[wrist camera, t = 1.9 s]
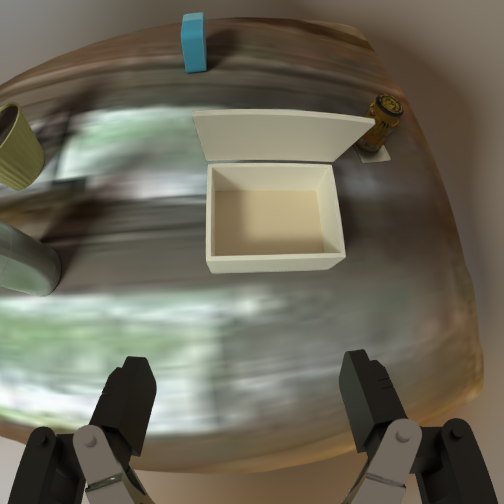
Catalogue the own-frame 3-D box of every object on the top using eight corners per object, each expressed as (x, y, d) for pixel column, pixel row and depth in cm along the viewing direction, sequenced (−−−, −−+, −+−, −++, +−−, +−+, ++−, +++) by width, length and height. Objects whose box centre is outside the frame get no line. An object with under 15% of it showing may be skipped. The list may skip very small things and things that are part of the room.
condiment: (373, 127, 53) (396, 90, 41) (391, 160, 51) (419, 126, 39) (344, 129, 52) (364, 89, 40) (361, 164, 50) (387, 126, 38)
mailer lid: (375, 123, 26) (374, 118, 26) (192, 116, 25) (192, 110, 25) (333, 161, 40) (332, 157, 40) (206, 160, 39) (206, 156, 39)
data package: (188, 49, 57) (183, 12, 46) (206, 47, 58) (203, 10, 46) (186, 76, 54) (180, 35, 43) (206, 73, 55) (203, 32, 43)
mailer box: (328, 269, 44) (345, 257, 37) (211, 273, 43) (206, 261, 36) (318, 189, 48) (331, 164, 40) (212, 189, 47) (207, 164, 39)
